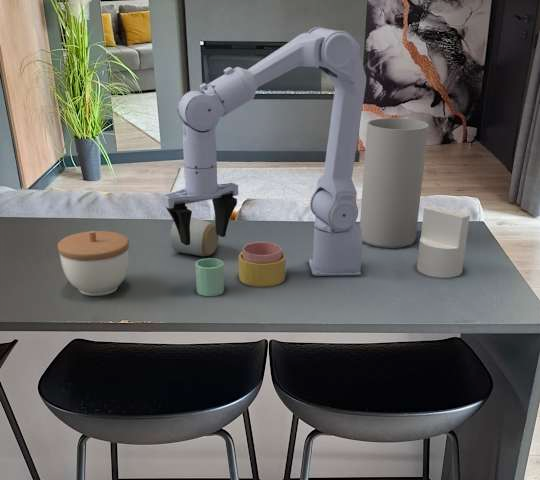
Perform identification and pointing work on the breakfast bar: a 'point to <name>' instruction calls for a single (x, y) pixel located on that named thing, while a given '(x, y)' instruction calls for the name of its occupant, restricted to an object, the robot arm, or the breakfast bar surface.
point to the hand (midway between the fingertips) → (203, 239)
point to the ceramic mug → (196, 238)
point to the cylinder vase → (392, 181)
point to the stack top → (262, 252)
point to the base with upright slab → (442, 242)
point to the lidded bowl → (95, 261)
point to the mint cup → (209, 277)
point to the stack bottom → (262, 272)
